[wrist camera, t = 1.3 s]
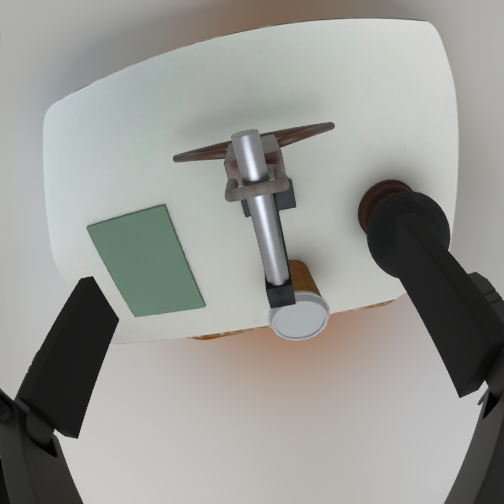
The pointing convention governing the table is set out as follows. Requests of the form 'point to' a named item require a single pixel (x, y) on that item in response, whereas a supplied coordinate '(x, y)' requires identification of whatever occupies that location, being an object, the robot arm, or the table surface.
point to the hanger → (271, 154)
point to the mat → (147, 262)
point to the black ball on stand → (385, 219)
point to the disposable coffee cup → (300, 308)
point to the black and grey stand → (266, 217)
